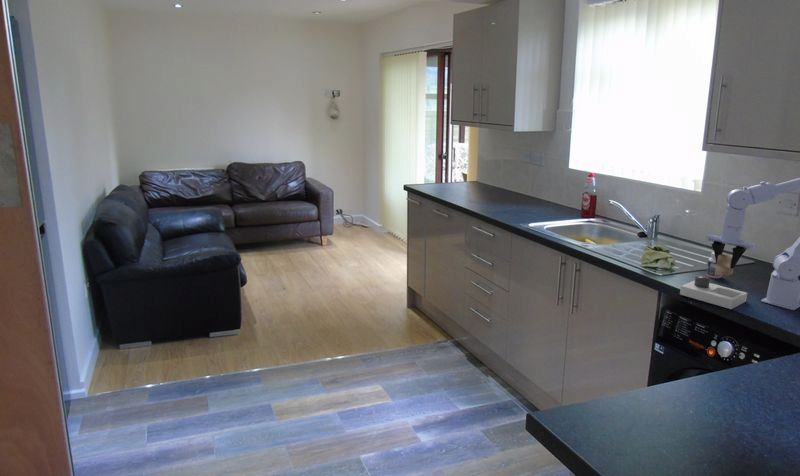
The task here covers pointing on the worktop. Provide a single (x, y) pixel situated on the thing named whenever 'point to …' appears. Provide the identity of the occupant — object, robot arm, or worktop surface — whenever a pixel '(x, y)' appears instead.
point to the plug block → (724, 264)
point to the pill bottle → (712, 267)
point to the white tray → (713, 293)
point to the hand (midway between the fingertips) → (725, 266)
